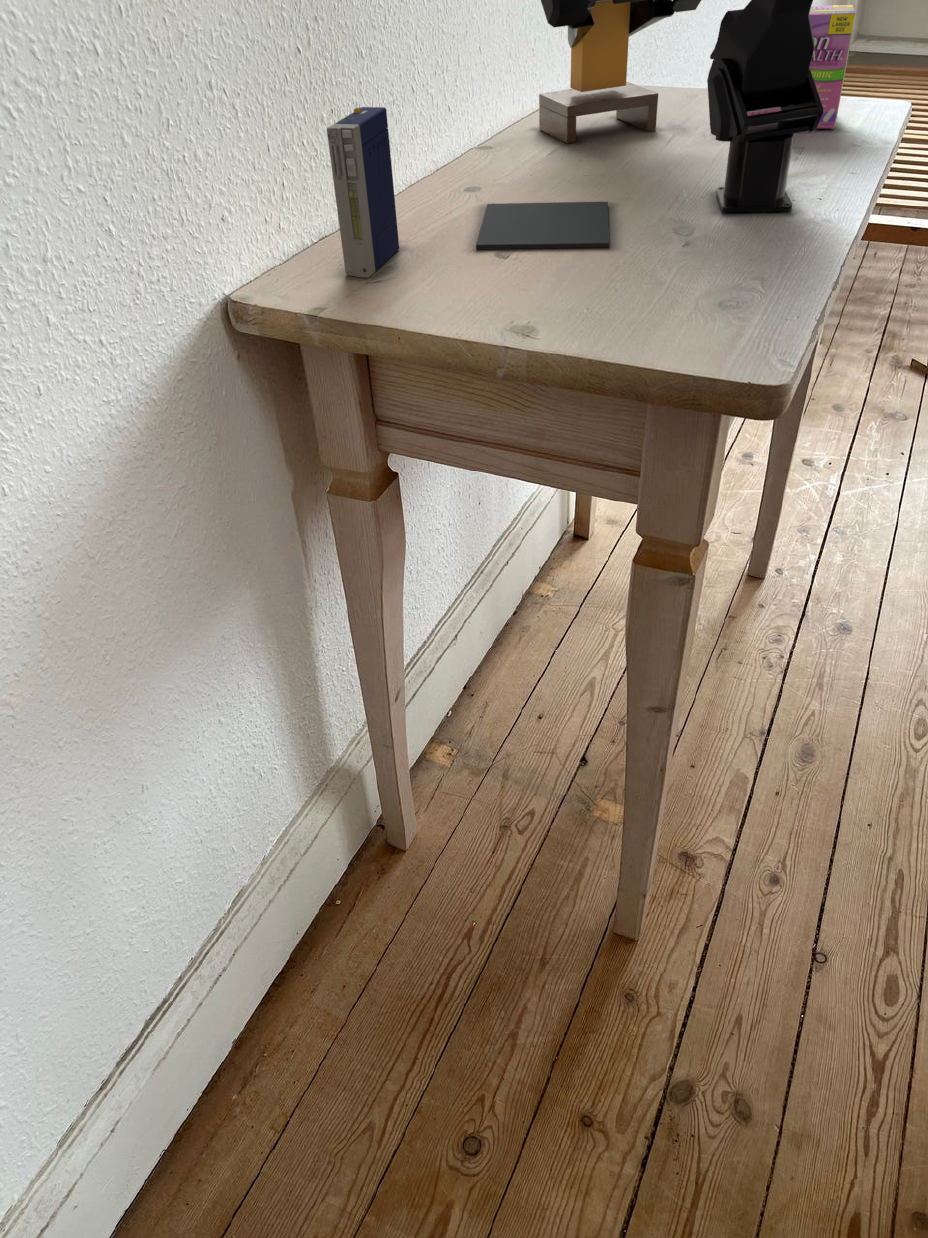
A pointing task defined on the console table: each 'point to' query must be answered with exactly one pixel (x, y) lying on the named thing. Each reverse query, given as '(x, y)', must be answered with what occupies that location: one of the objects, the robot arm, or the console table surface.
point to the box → (829, 57)
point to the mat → (545, 225)
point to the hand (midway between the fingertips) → (594, 40)
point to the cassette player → (364, 189)
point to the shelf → (596, 108)
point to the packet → (602, 49)
